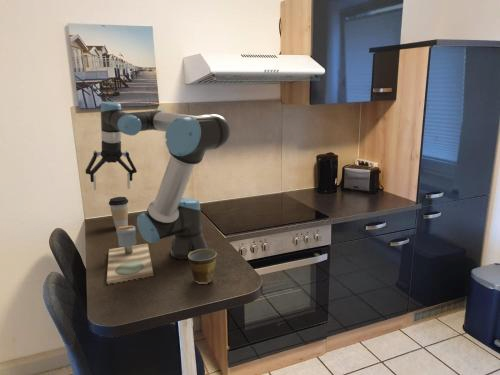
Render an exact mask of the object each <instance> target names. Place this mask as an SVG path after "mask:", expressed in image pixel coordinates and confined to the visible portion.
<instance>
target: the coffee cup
mask: <svg viewBox="0 0 500 375" xmlns="http://www.w3.org/2000/svg"><path fill="white" fill-rule="evenodd" d="M127 198H128V197H125V196H116V197H112V198H110V199H109V201H108V205H109V206H110V212H111V217H112V220H113V223H114V227H115V229H116V230H117V229H118V227H122V226H129V224H128V222H129V220H128V217H129V214H128V213H129V208H128V203H129V199H127Z"/></svg>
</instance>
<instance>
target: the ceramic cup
mask: <svg viewBox="0 0 500 375" xmlns="http://www.w3.org/2000/svg"><path fill="white" fill-rule="evenodd" d="M187 261H188V263H189V267H190V270H191V273H192V278H193V280H195V281H198V282H208V281H210V280H212V279H213V280H214V275H215V268H216V262H217V252H216V251H215V250H214V249H210V248H207V249H199V250H195V251H189V252H188V260H187ZM195 281H194V282H195Z"/></svg>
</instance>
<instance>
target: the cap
mask: <svg viewBox="0 0 500 375" xmlns="http://www.w3.org/2000/svg"><path fill="white" fill-rule="evenodd" d="M136 231H137V230H136V226H134V225H128V226H122V227H118V229H116V235H117V236H116V237H117V242H118V247H120V248H121V247H129V246H134V245H138V244H137V234H136Z"/></svg>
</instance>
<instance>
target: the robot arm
mask: <svg viewBox="0 0 500 375" xmlns="http://www.w3.org/2000/svg"><path fill="white" fill-rule="evenodd" d="M100 125H101V126H100V128H101V132H100V134H101V135H100V136H101V151H97V150H94V151H93V153H92V154H93V156H92V157H91V159H90V161H89V163H88V165H87V166H86V169H85V174H86V175H90V176H89V179H90V182H91V183H93V190H94V191H96V190H97V186H96V185H97V184H96V182H97V181H96V180H97V179H96V173H97V172H98V170H100V168H102V166H103V165H104V164H105V163H109V164H110V163H115V164H116V163H117V162H118V163H119V164H120V165H121V167H123V169H124V170H126V171H127V174H126V176H127V177H126V180H127V181H126V186H127V189H131V187H130V186H131V183H130V182H132V181H133V174H136V173H137V172H138V170H137V168H136V166H135V164H134V162H133V161H132V159H131V157H130V153H129V150H125V151H122V141H121V140H122V134H124V135H128V136H136V135H137V134H138V133H140V132H144V131H152V130H153V131H158V132H165V139H166V140H165V145H166V147H167V148H166V149H167V150H168V154H170V157H169V160H168V163H167V166H166V168H165V171H164V174H163V176H162V180H161V182H160V185H159V188H158V192H157V194H156V196H155V198H154V200H153V201H151V202H150V203H149V204H148V206H147V210H146V212H141V213H140V214H139V215H138V216H137V217H136V218H137V219H136V227H137V228H138V231H139V233H140V236H142V238H143V240H145V241H146V243H147V242H148V243H150V244H153V243H157V242H160V241H162V240H165V239H167V238H170V237H172V236H173V238H172V242H171V247H170V255H171V257H172V258H174V259H176V258H177V260H181V259H188V252H189V251H195V250H199V249H208V244H207V242H206V240H205V237H204V235H203V226H202V213H201V211H202V210H201V204H200V201H199V200H197V199H196V198H191V197H183V196H184V193H185V191H186V188H187V185H188V183H189V181H190V179H191V176H192V174H193V171H194V170H195V169H194V168H195V167H196V165H198V164H200V163H201V162H202V161H203V159H204V158H205V155H206V152H207V151H212V150H216V149H219V148H221V147H223V146H224V145H225V144H226V143H227V142H228V141H229V139H230V135H231V128H230V124H229V122H228V121H227V119H225V118H224V116H222V115H220V114H216V113H215V114H211V113H210V114H201V115H191V114H190V115H189V114H182V113H181V114H180V113H173V112H165V111H164V110H155V109H154V110H150V111H149V110H148V111H137V112H135V111H134V112H125V111H122V105H121V103H120V102H117V101H103V102H101V104H100ZM99 156H101V159H100V160H99V162H97V163H96V164H95V162H96V161H97V158H99ZM122 157H124V158H126V160H127V162H128V163H129V166H130V167H131V168H130V167H129V166H128V165H127V164H126V163H125V161H123V160H122ZM94 164H95V165H94Z"/></svg>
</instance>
